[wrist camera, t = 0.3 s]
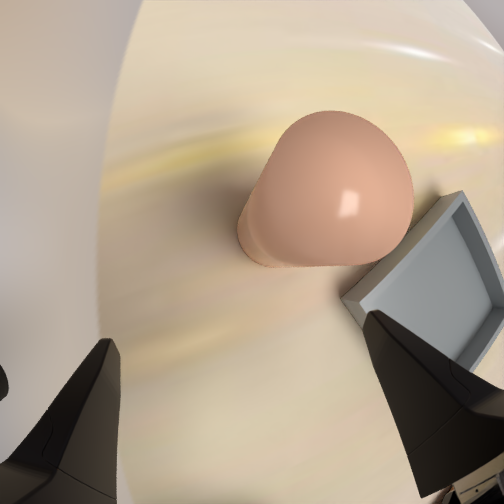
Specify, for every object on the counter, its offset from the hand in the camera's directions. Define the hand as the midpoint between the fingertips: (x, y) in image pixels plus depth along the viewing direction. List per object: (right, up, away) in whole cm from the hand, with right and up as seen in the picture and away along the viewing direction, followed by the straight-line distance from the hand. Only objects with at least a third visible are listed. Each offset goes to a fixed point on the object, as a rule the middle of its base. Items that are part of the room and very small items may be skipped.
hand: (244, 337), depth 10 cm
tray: (+19, -3, +16) cm, 25 cm away
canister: (+2, +5, +15) cm, 15 cm away
